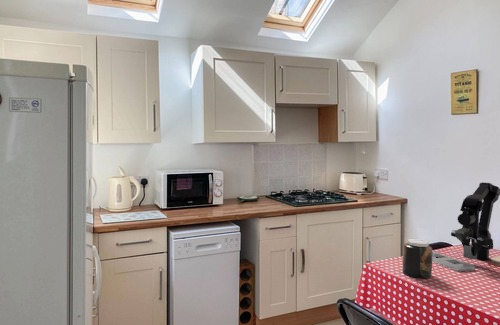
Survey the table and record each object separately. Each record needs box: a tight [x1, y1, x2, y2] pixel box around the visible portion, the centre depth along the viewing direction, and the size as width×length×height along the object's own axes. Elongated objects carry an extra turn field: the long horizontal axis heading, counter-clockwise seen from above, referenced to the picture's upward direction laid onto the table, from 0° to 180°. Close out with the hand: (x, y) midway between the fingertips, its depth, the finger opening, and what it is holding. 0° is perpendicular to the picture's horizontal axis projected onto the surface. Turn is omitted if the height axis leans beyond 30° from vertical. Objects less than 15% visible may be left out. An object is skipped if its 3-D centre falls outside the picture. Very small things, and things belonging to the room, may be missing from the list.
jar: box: [402, 238, 433, 280], centre depth 160 cm, size 12×12×15 cm
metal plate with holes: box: [432, 250, 476, 273], centre depth 178 cm, size 10×24×2 cm, turn 18°
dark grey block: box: [463, 243, 478, 260], centre depth 176 cm, size 4×4×6 cm
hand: (470, 254), depth 176 cm, fingers closed on dark grey block, 4 cm apart
